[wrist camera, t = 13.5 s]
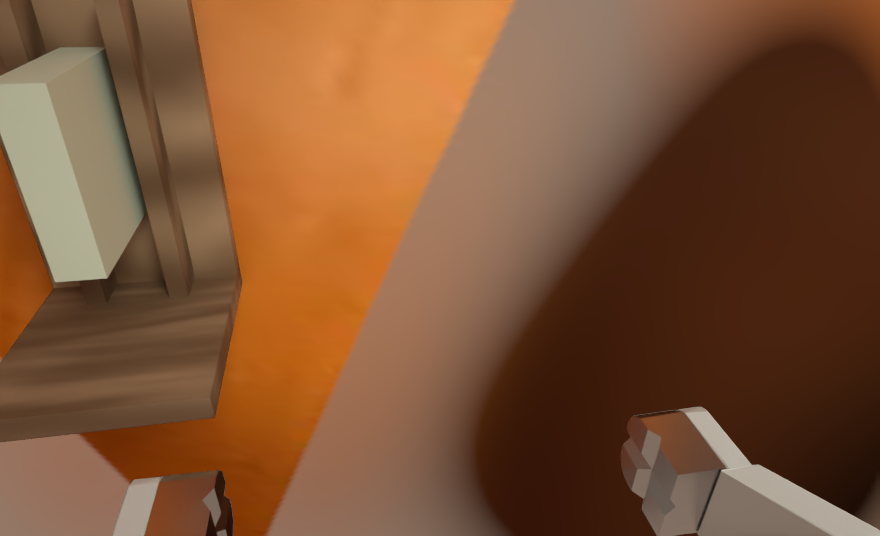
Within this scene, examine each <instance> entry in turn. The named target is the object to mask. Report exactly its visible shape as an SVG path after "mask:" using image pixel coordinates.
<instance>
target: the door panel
mask: <svg viewBox="0 0 880 536" xmlns="http://www.w3.org/2000/svg"><path fill="white" fill-rule="evenodd" d="M0 134H1V137H2V140H3V142H4V145H5V148H6V150H7V153H8V156H9V159H10V161H11V164H12V167H13V169H14V172H15V175H16V178H17V180H18V183H19V186H20V188H21V191H22V194H23V196H24V199H25V202H26V205H27V207H28V210H29V213H30V215H31V218H32V221H33V224H34V226H35V229H36V232H37V234H38V237H39V240H40V243H41V245H42V248H43V251H44V253H45V256H46V259H47V261H48V264H49V267H50V270H51V272H52V275H53V278H54V280H55V282H66V281H80V280H93V279H107V278H108V276H109V275H110V273H111V271H112V270H113V268H114V266H115V265H116V263H117V261H118V259H119V258H120V256H121V254H122V253H123V251H124V249H125V248H126V246H127V244H128V242H129V241H130V239H131V237H132V236H133V234H134V232H135V231H136V229H137V227H138V225H139V224H140V222H141V220H142V219H143V217H144V215H145V214H146V212H147V208H146V204H145V200H144V196H143V192H142V188H141V185H140V181H139V177H138V173H137V169H136V165H135V161H134V157H133V153H132V150H131V146H130V142H129V138H128V134H127V130H126V126H125V122H124V119H123V115H122V111H121V107H120V103H119V99H118V95H117V91H116V88H115V84H114V80H113V76H112V72H111V68H110V64H109V60H108V56H107V53H106V49H105V47H60V48H58V49H55V50H53V51H51V52H49V53H47V54H45V55H43V56H41V57H39V58H37V59H35V60H32V61H30V62H28V63H26V64H24V65H22V66H20V67H18V68H16V69H14V70H12V71H9V72H7V73H5V74H3V75H1V76H0Z"/></svg>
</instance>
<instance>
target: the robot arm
mask: <svg viewBox="0 0 880 536" xmlns="http://www.w3.org/2000/svg"><path fill="white" fill-rule="evenodd" d="M627 431H628V432H629V434H630V436H631V437H630V439H628V440H627V442H626V443H625V444H624V445H623V448H622V454H621V463H622V470H623V473H624V476H625V479H626V481H627V483H628V485H629V487H630V489H631V491H633V492H634V493H636V494H637V495H639V496H641V497H642V498H643V499H644V501H643V506H642V510H643V512H644V513H645V515H646V517H647V519H648V521H649V522H650V524H651V526H652V527H653V529H654V531H655V533H656V535H657V536H674V535H681V534H689V533H696V532H698V535H699V536H880V530H878V529H876V528H875V527H873V526H871V525H869V524H867V523H865V522H863V521H862V520H860V519H858V518H856V517H854V516H852V515H851V514H849V513H847V512H845V511H843V510H841V509H840V508H838V507H836V506H834V505H832V504H830V503H828V502H826V501H825V500H823V499H821V498H819V497H817V496H816V495H814V494H812V493H810V492H808V491H806V490H804V489H803V488H800V487H799V486H797V485H795V484H793V483H791V482H790V481H788V480H786V479H784V478H782V477H780V476H779V475H777V474H775V473H773V472H771V471H770V470H768V469H766V468H764V467H762V466H760V465H751V464H750V462H749V461H748V460H747V459H746V458H745V456H744V455H743V454H742V453H741V451H740V450H739V449H738V448H737V447H736V445H735V444H734V443H733V442H732V441H731V439H730V438H729V437H728V436H727V434H726V433H725V432H724V431H723V429H721V427H720V426H719V425H718V423H717V422H716V421H715V420H714V419H713V418H712V416H711V415H710V414H709V412H708V411H707V410H705V409H704V408H702V407H694V408H687V409H679V410H670V411H663V412H656V413H650V414H642V415H636V416H633V417H632V418H631V419H630V420H629V423H628V427H627ZM225 484H226V482H225V479H224V476H223V472H222V471H220V470H216V471H206V472H197V473H187V474H178V475H168V476H163V477H153V478H144V479H135V480H133V482H132V483H131V484H130V486H129V487H128V489H127V492H126V495H125V498H124V501H123V504H122V507H121V510H120V512H119V516H118V518H117V522H116V524H115V527H114V530H113V533H112V536H233V514H232V507H231V503H230V499H228V498H227V497H225V496H224V491H225Z"/></svg>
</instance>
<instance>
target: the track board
mask: <svg viewBox="0 0 880 536" xmlns="http://www.w3.org/2000/svg"><path fill="white" fill-rule="evenodd" d="M60 47H105V49H106V53H107V56H108V60H109V64H110V68H111V72H112V76H113V80H114V84H115V88H116V91H117V95H118V99H119V103H120V107H121V111H122V115H123V119H124V122H125V126H126V130H127V134H128V138H129V142H130V146H131V150H132V153H133V157H134V161H135V165H136V169H137V173H138V177H139V181H140V185H141V188H142V192H143V196H144V200H145V204H146V208H147V212H146V214H145V215H144V217H143V219H142V220H141V222H140V224H139V225H138V227H137V229H136V231H135V232H134V234H133V236H132V237H131V239H130V241H129V242H128V244H127V246H126V248H125V249H124V251H123V253H122V254H121V256H120V258H119V259H118V261H117V263H116V265H115V266H114V268H113V270H112V271H111V273H110V275H109V276H108V278H107V279H93V280H80V281H66V282H55V280H54V278H53V275H52V272H51V270H50V267H49V264H48V261H47V259H46V256H45V253H44V251H43V248H42V245H41V243H40V240H39V237H38V234H37V232H36V229H35V226H34V224H33V221H32V218H31V215H30V213H29V210H28V207H27V205H26V202H25V199H24V196H23V194H22V191H21V188H20V186H19V183H18V180H17V178H16V175H15V172H14V169H13V167H12V164H11V161H10V159H9V156H8V153H7V150H6V148H5V145H4V142H3V140H2V137H1V134H0V145H1V148H2V151H3V153H4V156H5V159H6V161H7V164H8V167H9V169H10V172H11V175H12V177H13V180H14V183H15V185H16V188H17V191H18V193H19V196H20V199H21V201H22V204H23V207H24V210H25V212H26V215H27V218H28V220H29V223H30V226H31V228H32V231H33V234H34V236H35V239H36V242H37V244H38V247H39V250H40V252H41V255H42V258H43V260H44V263H45V266H46V269H47V271H48V274H49V277H50V279H51V282H52V285H53V287H54V289H53V290H52V292H51V293H50V294H49V296H48V297H47V299H46V300H45V301H44V303H43V304H42V306H41V307H40V308H39V310H38V311H37V312H36V314H35V315H34V317H33V318H32V319H31V321H30V322H29V324H28V325H27V326H26V328H25V329H24V331H23V332H22V333H21V335H20V336H19V337H18V339H17V340H16V342H15V343H14V344H13V346H12V347H11V349H10V350H9V351H8V353H7V354H6V356H5V357H4V358H3V360H2V361H1V362H0V442H6V441H15V440H23V439H32V438H41V437H50V436H59V435H68V434H77V433H86V432H94V431H103V430H112V429H121V428H130V427H138V426H147V425H156V424H165V423H173V422H182V421H191V420H200V419H208V418H215V414H216V410H217V405H218V400H219V395H220V390H221V385H222V380H223V375H224V370H225V365H226V360H227V356H228V351H229V346H230V341H231V336H232V331H233V326H234V321H235V316H236V311H237V306H238V302H239V297H240V292H241V287H242V280H241V274H240V269H239V263H238V258H237V252H236V247H235V241H234V235H233V230H232V224H231V219H230V213H229V208H228V202H227V197H226V191H225V186H224V180H223V175H222V169H221V164H220V158H219V152H218V147H217V141H216V136H215V130H214V125H213V119H212V114H211V108H210V103H209V97H208V92H207V86H206V80H205V75H204V69H203V64H202V58H201V53H200V47H199V42H198V36H197V31H196V25H195V20H194V14H193V9H192V3H191V0H0V76H1V75H3V74H5V73H7V72H9V71H12V70H14V69H16V68H18V67H20V66H22V65H24V64H26V63H28V62H30V61H32V60H35V59H37V58H39V57H41V56H43V55H45V54H47V53H49V52H51V51H53V50H55V49H58V48H60Z"/></svg>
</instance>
